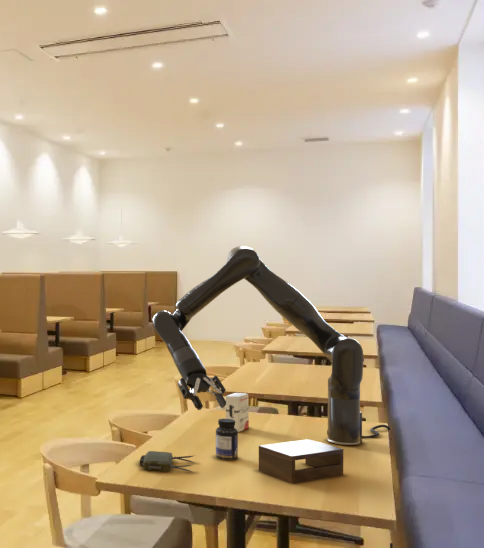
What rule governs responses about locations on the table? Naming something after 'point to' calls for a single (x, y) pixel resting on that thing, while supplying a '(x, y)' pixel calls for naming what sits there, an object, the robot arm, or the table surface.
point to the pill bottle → (226, 440)
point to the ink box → (238, 410)
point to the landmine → (161, 461)
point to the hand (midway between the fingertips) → (212, 407)
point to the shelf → (283, 455)
